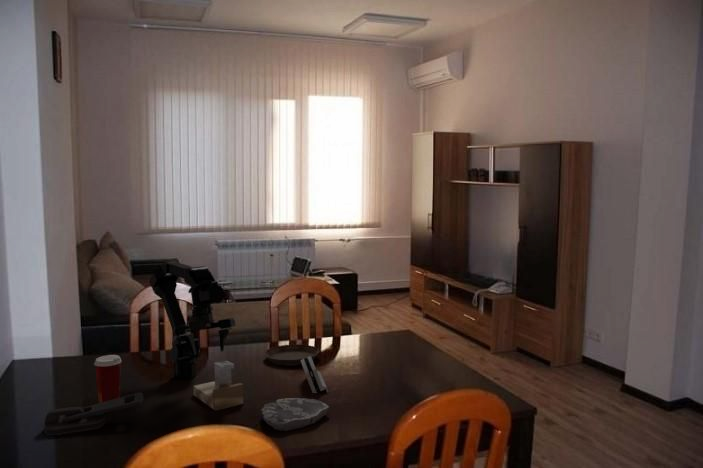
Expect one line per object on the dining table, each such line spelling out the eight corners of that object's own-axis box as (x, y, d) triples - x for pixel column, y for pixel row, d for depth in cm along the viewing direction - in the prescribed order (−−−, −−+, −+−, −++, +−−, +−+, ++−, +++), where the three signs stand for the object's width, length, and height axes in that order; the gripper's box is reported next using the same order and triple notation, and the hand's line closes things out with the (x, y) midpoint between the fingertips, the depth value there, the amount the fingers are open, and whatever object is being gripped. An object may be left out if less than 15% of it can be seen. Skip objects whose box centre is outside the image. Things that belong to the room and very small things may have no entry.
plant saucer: (253, 360, 217) (253, 352, 217) (292, 348, 233) (292, 340, 233) (291, 372, 204) (291, 363, 204) (330, 358, 220) (330, 349, 220)
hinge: (329, 392, 183) (318, 364, 182) (315, 398, 182) (304, 370, 181) (321, 375, 199) (311, 349, 198) (308, 381, 199) (298, 355, 197)
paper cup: (128, 400, 177) (127, 355, 176) (110, 409, 170) (109, 363, 168) (108, 397, 179) (106, 353, 178) (89, 406, 172) (87, 360, 171)
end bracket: (215, 403, 174) (214, 362, 173) (227, 400, 177) (226, 360, 176) (222, 408, 171) (221, 366, 170) (235, 405, 173) (234, 364, 172)
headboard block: (193, 395, 181) (193, 376, 181) (220, 388, 187) (220, 370, 186) (215, 410, 169) (214, 390, 168) (243, 403, 174) (242, 384, 174)
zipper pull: (143, 401, 159) (41, 413, 150) (143, 424, 159) (42, 438, 151) (143, 390, 167) (46, 401, 159) (144, 412, 168) (47, 424, 159)
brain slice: (297, 402, 176) (297, 392, 176) (337, 417, 164) (337, 407, 164) (244, 421, 162) (244, 410, 162) (283, 439, 150) (283, 428, 150)
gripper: (164, 311, 180) (170, 361, 179) (222, 302, 179) (229, 352, 178) (177, 308, 191) (183, 356, 190) (232, 300, 190) (239, 348, 189)
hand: (208, 353), depth 186 cm, fingers open, 9 cm apart
